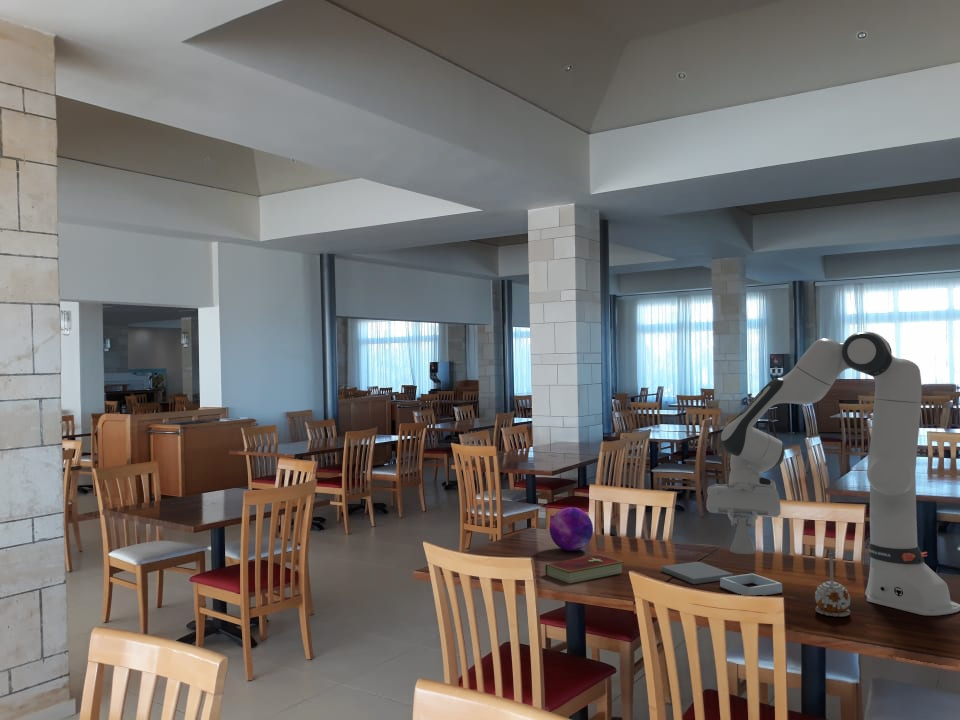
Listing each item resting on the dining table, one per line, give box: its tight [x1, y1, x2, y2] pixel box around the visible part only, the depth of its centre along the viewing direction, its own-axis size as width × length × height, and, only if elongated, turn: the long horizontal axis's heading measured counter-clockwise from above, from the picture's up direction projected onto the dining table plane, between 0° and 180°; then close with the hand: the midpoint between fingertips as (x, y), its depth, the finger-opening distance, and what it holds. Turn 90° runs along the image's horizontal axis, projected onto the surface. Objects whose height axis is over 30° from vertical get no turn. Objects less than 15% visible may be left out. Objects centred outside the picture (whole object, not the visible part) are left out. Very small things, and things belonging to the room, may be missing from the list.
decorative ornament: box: [814, 553, 851, 618], centre depth 189 cm, size 8×8×15 cm
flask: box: [729, 515, 757, 555], centre depth 213 cm, size 7×7×10 cm
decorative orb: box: [549, 506, 594, 552], centre depth 262 cm, size 15×15×15 cm
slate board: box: [660, 561, 734, 585], centre depth 227 cm, size 16×14×2 cm
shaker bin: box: [719, 573, 783, 596], centre depth 211 cm, size 12×12×2 cm
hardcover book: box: [544, 553, 625, 584], centre depth 231 cm, size 12×21×4 cm, turn 121°
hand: (742, 525), depth 212 cm, fingers closed on flask, 3 cm apart
